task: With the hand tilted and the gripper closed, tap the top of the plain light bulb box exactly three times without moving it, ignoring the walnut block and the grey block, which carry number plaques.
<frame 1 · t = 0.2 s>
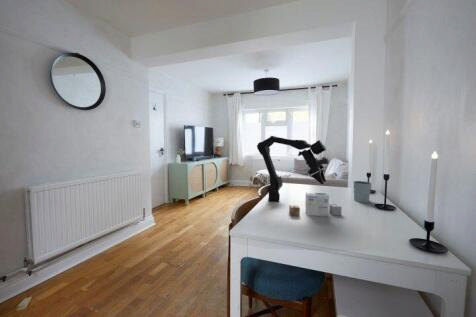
hand: (324, 182, 123), 15 cm above the table, tool tilted 30°, fingers open, 9 cm apart
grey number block: (335, 213, 114), on the table
light bulb box: (316, 214, 114), on the table
walnut number block: (294, 214, 113), on the table
drinking glass: (361, 200, 140), on the table
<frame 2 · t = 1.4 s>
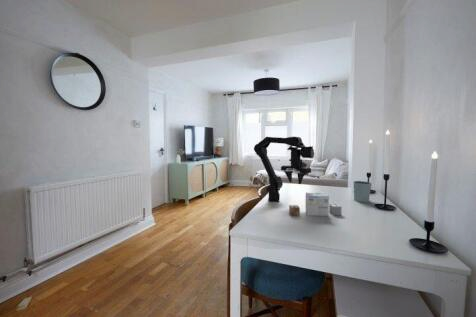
hand: (295, 183, 130), 13 cm above the table, tool pointing down, fingers open, 7 cm apart
nothing on the table moved.
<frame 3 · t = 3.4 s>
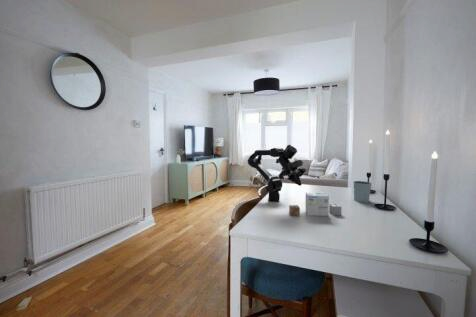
hand: (300, 185, 122), 14 cm above the table, tool tilted 45°, fingers closed
nothing on the table moved.
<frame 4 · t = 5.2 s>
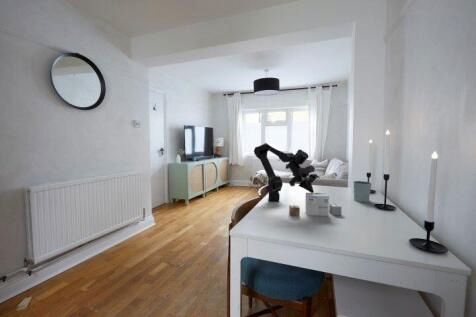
hand: (312, 192, 115), 11 cm above the table, tool tilted 45°, fingers closed, pressing on light bulb box
light bulb box: (316, 214, 114), on the table, touching gripper
everything else where it was.
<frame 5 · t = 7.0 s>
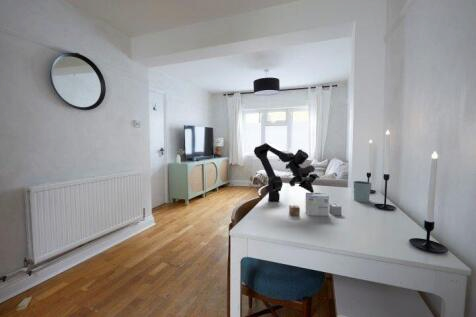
hand: (312, 192, 115), 11 cm above the table, tool tilted 45°, fingers closed
light bulb box: (316, 214, 114), on the table
everything else where it was.
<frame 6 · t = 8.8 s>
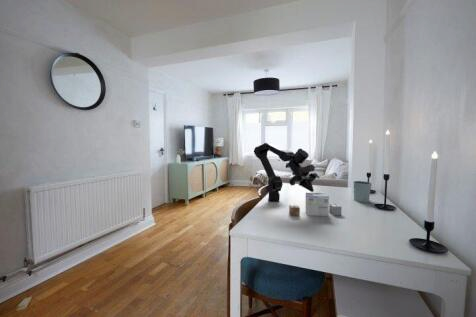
hand: (312, 191, 115), 12 cm above the table, tool tilted 45°, fingers closed
nothing on the table moved.
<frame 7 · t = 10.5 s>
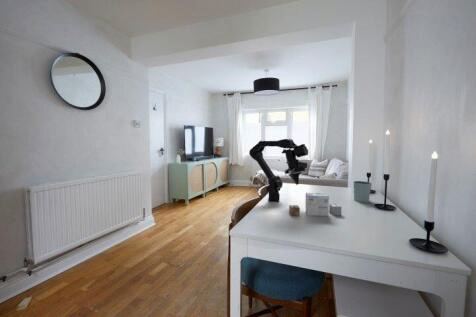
hand: (297, 184, 128), 13 cm above the table, tool tilted 15°, fingers closed
nothing on the table moved.
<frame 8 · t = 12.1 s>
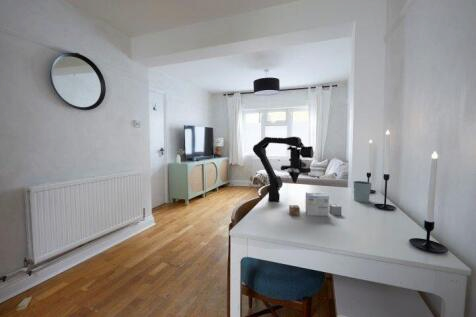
hand: (294, 183, 131), 13 cm above the table, tool pointing down, fingers closed
nothing on the table moved.
at the end: light bulb box moved 0.3 cm from its start; light bulb box tilted 0°; walnut number block moved 0.1 cm from its start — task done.
